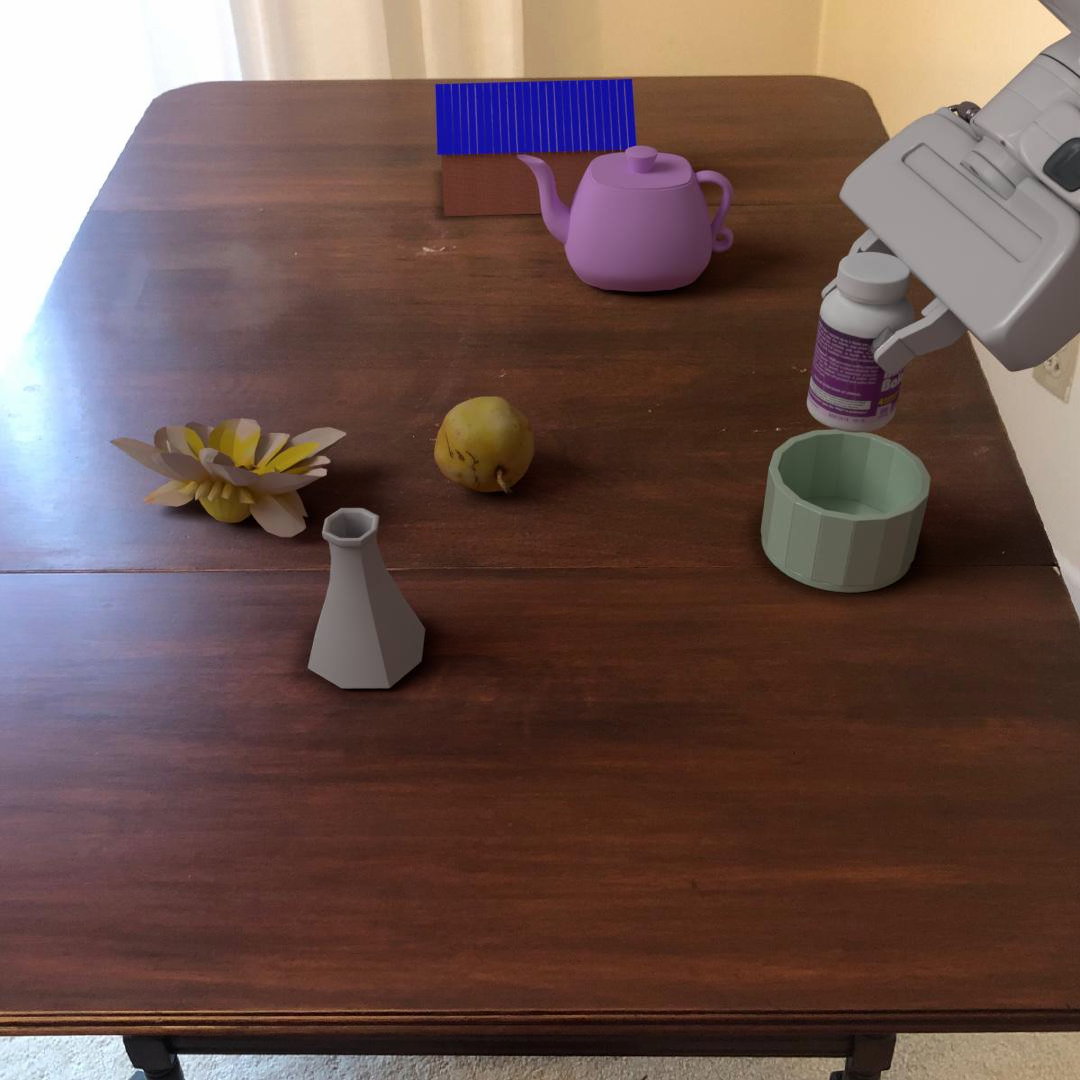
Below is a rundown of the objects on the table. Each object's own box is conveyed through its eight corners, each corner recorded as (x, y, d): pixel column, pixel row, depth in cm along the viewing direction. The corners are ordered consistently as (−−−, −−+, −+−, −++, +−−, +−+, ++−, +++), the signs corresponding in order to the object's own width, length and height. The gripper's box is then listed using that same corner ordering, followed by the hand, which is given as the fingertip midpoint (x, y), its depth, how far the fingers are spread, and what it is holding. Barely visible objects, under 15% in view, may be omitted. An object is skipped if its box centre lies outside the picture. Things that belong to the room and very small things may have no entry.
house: (442, 173, 135) (436, 65, 128) (622, 167, 136) (626, 60, 129) (441, 217, 126) (434, 104, 119) (634, 212, 127) (638, 98, 119)
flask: (287, 678, 74) (262, 549, 68) (340, 602, 79) (322, 476, 73) (397, 705, 72) (382, 575, 66) (444, 626, 77) (434, 499, 71)
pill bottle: (894, 440, 72) (924, 292, 66) (803, 430, 73) (824, 283, 67) (895, 393, 76) (923, 249, 70) (808, 384, 77) (829, 241, 71)
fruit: (558, 446, 83) (527, 370, 90) (459, 438, 81) (436, 361, 88) (534, 526, 87) (506, 447, 94) (439, 520, 84) (419, 440, 92)
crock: (945, 564, 81) (964, 491, 78) (821, 611, 78) (834, 537, 74) (849, 484, 89) (862, 414, 85) (731, 524, 85) (739, 453, 81)
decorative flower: (393, 456, 89) (354, 352, 81) (321, 574, 83) (272, 474, 75) (223, 426, 94) (172, 326, 87) (144, 535, 88) (81, 438, 80)
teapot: (723, 240, 121) (733, 122, 114) (737, 304, 111) (750, 178, 103) (521, 241, 121) (518, 123, 114) (517, 304, 111) (513, 179, 104)
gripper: (932, 58, 73) (759, 228, 77) (1129, 192, 57) (898, 396, 62) (985, 125, 76) (817, 285, 81) (1185, 270, 61) (962, 457, 65)
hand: (853, 334), depth 71 cm, fingers closed on pill bottle, 5 cm apart
